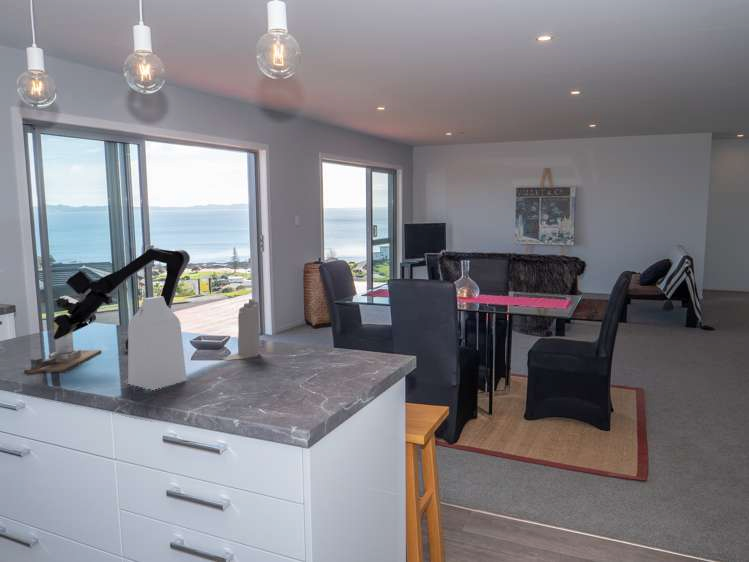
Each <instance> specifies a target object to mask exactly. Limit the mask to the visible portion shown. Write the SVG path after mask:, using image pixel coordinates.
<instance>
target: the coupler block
mask: <svg viewBox="0 0 749 562" xmlns="http://www.w3.org/2000/svg"><path fill="white" fill-rule="evenodd" d="M57 329H58V325H57V324H56V323H55V322H54V323H53V333H54V335H55V333H56V331H57ZM73 339H74V336H73V332H71V333H69V334H67V335H65V336H62V337H60V338H58V339H56V340H55V339H54V345H55V347H54V349H55V352H56V354H71V353H73V352H74V350H75V349H74V340H73Z"/></svg>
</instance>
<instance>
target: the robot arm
mask: <svg viewBox="0 0 749 562" xmlns="http://www.w3.org/2000/svg"><path fill="white" fill-rule="evenodd" d="M190 259H191V257H190V254H189V253H188V252H187V251H186V250H184V249H177V250H169V249H160V248H158V247H152V248H148V249H147V250H146V251H145V252H144V253H142V254H141V255H139V256H138V257H136V258H135V259H133V260H132V261H131V262H129V263H128V264H126V265H125V266H123V267H122V268H120V269H119V270H116V271H114V272H112V273H110V274H106V275H105V276H103V277H101V278H100V279H95V280H93V278H91V277H90V276H89V275H88V274H87V272H86V271H84V270H83V269H82V270H79V271H77V272H76V273H75V274H73V275H72V276H70V277H69V278H68V279H66V282H65V284H66V285H67V286H69V288H70V289H72V290H73V291H74V292H75V293H76V294H77V295H79V296H81V295H83V296H84V297H83V299H82V300H77V299H76V298H73V297H70V296H68V295H62V296H60V297H58V298H57V300H56V301H55V303H56V307H58V308H62V309H64V310H65V311H66V313H67V314H66V313H65V314H60V315H59V314H58V315H56V317H55V318H54V319H53V322H54V323H56V324H57V325H58V329H57V331H56V333H55V334H54V335H53V339H54V341H55V340H56V339H58V338H60V337H62V336H65V335H67V334H69V333H71V332H72V333H74V332H76V331H79V330H81V329H82V328H85V327H87V326H89V325H90V324H93V323H94V322H95V321H96V320H97V315H96V313H98V309H100V307H102V305H103V304H106V305H111V304H113V302H114V301H113V296H112V295H109V294H112V293H115V292H117V291H119V290H120V289H121V288H122V287H123V286H124V285H125V284H126V283H127V281H128V280H129V279H130V278H131V277H133V276H134V275H136V274H137V273H139V272H140V271H142V270H143V269H145V268H147V266H149V265H151V264H152V263H153V262H154V261H156V262H159V263H163V264H165V269H166V270H165V271H166V276H165V280H164V283H163V286H162V290H161V293H160V296H163V297H164V300H165V302H166V305H167V306H168V307H169V308H170V309H171V310H172V306H173V302H174V299H175V295H176V292H177V288H178V285H179V282H180V278H181V276H182V275H183V273H184V272H185V270H186V268H187V267H188V264H189V263H190ZM85 295H86V296H85Z"/></svg>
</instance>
